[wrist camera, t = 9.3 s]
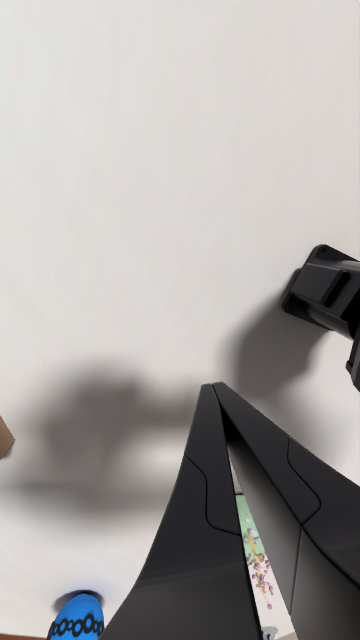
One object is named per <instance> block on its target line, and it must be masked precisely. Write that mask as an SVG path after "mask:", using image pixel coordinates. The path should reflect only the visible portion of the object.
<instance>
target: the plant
mask: <svg viewBox="0 0 360 640" xmlns="http://www.w3.org/2000/svg"><path fill="white" fill-rule="evenodd" d="M236 501H237V507H238V513H239V519H240V525H241V531H242V539H243V542H244V548H245V554H246V559H247V564H248V566H249V565H252V563H255V564H254V567H253V566H252V567H253V568H254V569H256V570H258V574H257V573H256V576H257V578H258V584H259V588H261V590H262V592H263V595H264V597H265V594H264V593H266V591H267V590H269V591H270V592H271V594H272V595H273V593H272V590H273V587H272V586H270V585H269V582H267V585H269V589H267V590H265V586H261V585H262V584H263V585H265V582H264V581H263V579H264V576H265V575H264V576H263V575H262V574H260V572H261V571H260V567H261V566H260V563H259V562H263V561H265V560H264V556H266V552H265V550H264V547H263V544H262V542H261V539H260V536H259V534H258V531H257V528H256V526H255V523H254V521H253V518H252V515H251V513H250V510H249V507H248V505H247V502H246V499H245V497H244V495H236ZM259 560H260V561H259ZM255 561H256V562H255ZM265 563H266V564H267V565H266V567H267V568H268V569H269V566H270V563H269V561H268V560H266V561H265ZM262 568H265V567H262ZM265 573H268V572H267V570H265ZM254 578H255V575H254V574H253V575H252V579H254ZM262 581H263V582H262ZM258 584H257V585H256V587H258ZM265 599H266V597H265ZM266 601H267V600H266ZM267 603H268V602H267ZM268 608H269V609H270V610H271V609H272V606H271V605H270V604H268Z"/></svg>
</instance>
